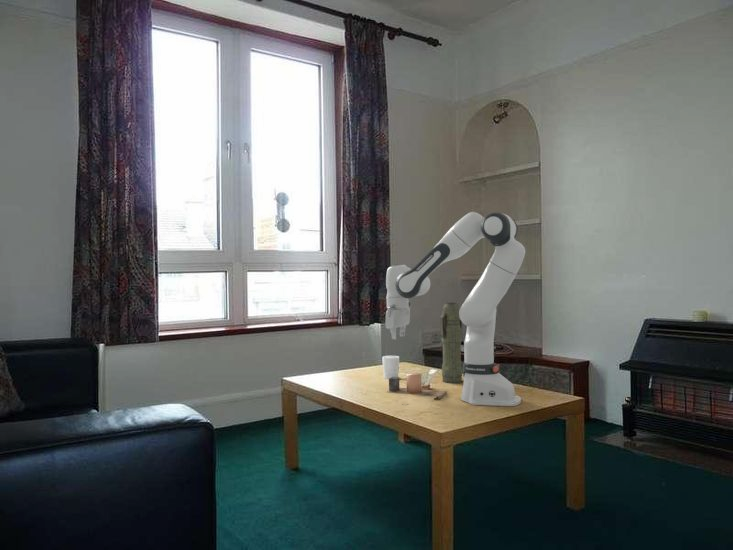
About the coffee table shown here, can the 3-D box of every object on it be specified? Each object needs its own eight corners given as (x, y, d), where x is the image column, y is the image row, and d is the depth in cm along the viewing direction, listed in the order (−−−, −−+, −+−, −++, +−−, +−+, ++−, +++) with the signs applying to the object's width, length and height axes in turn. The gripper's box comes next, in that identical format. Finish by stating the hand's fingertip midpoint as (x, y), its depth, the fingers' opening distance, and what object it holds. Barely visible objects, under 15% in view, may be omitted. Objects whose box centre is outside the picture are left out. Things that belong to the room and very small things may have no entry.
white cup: (388, 380, 254) (388, 358, 254) (379, 378, 261) (379, 356, 261) (402, 378, 258) (402, 357, 258) (393, 376, 265) (393, 355, 265)
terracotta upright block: (423, 390, 226) (423, 373, 226) (419, 393, 221) (418, 375, 221) (409, 389, 229) (409, 372, 228) (404, 392, 223) (404, 374, 223)
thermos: (435, 381, 251) (434, 303, 250) (453, 378, 258) (452, 301, 258) (450, 384, 244) (449, 303, 244) (468, 380, 252) (467, 302, 251)
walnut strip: (446, 394, 224) (446, 378, 224) (439, 399, 215) (439, 383, 215) (395, 390, 233) (395, 375, 233) (386, 395, 224) (386, 379, 224)
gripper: (396, 305, 219) (397, 341, 219) (412, 302, 238) (413, 335, 238) (381, 305, 222) (382, 340, 222) (398, 302, 241) (399, 335, 241)
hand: (398, 337), depth 230 cm, fingers open, 8 cm apart
